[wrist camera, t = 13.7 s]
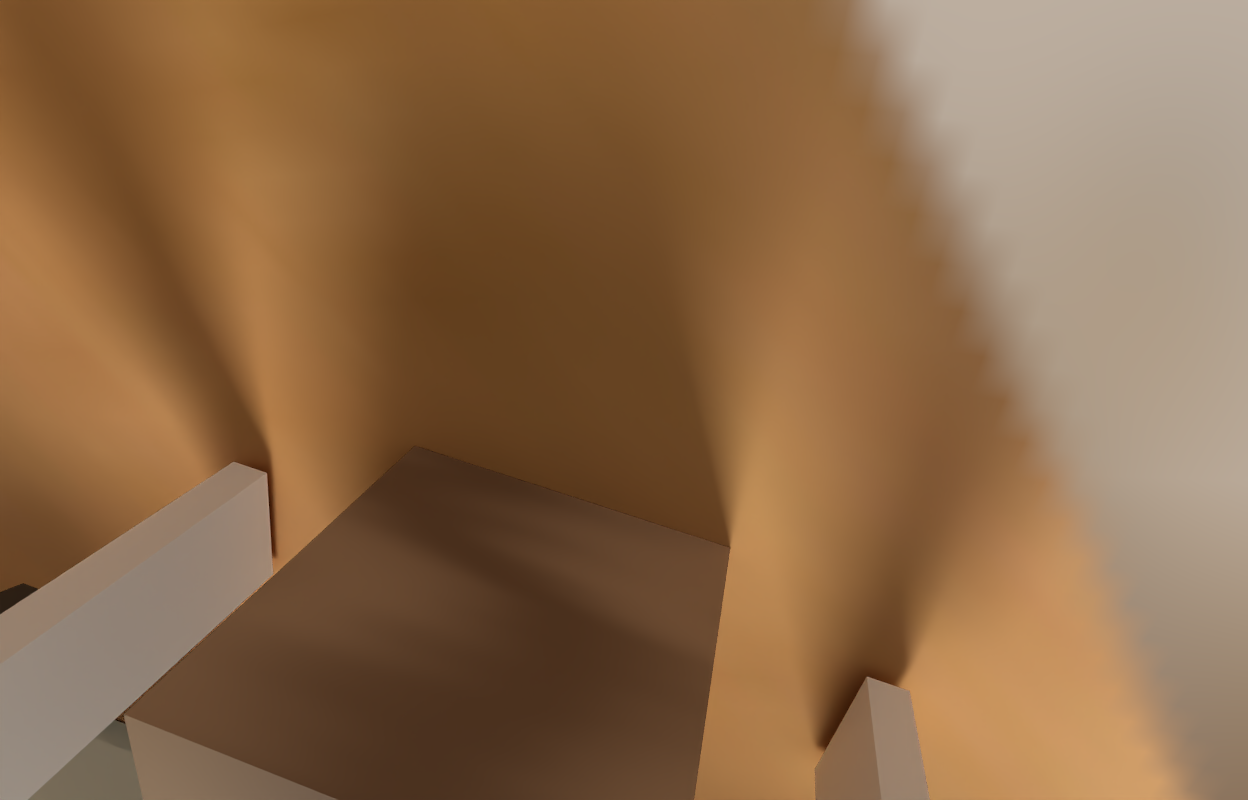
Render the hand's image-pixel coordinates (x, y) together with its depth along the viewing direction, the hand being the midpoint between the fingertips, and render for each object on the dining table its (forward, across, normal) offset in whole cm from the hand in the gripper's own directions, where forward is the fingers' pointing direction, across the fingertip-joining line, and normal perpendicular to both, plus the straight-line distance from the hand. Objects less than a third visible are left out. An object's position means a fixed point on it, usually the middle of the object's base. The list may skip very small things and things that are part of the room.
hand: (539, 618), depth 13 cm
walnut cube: (0, 0, 0) cm, 0 cm away
